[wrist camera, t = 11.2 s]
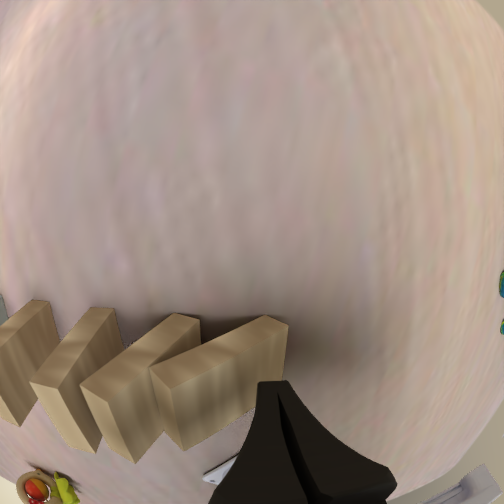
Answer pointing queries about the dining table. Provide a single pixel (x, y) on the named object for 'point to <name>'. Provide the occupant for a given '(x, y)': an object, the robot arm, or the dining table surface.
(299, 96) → the dining table surface
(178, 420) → the domino
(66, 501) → the bird rattle
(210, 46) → the dining table surface
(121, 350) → the domino
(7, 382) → the domino
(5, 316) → the domino
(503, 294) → the plush toy
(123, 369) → the domino
